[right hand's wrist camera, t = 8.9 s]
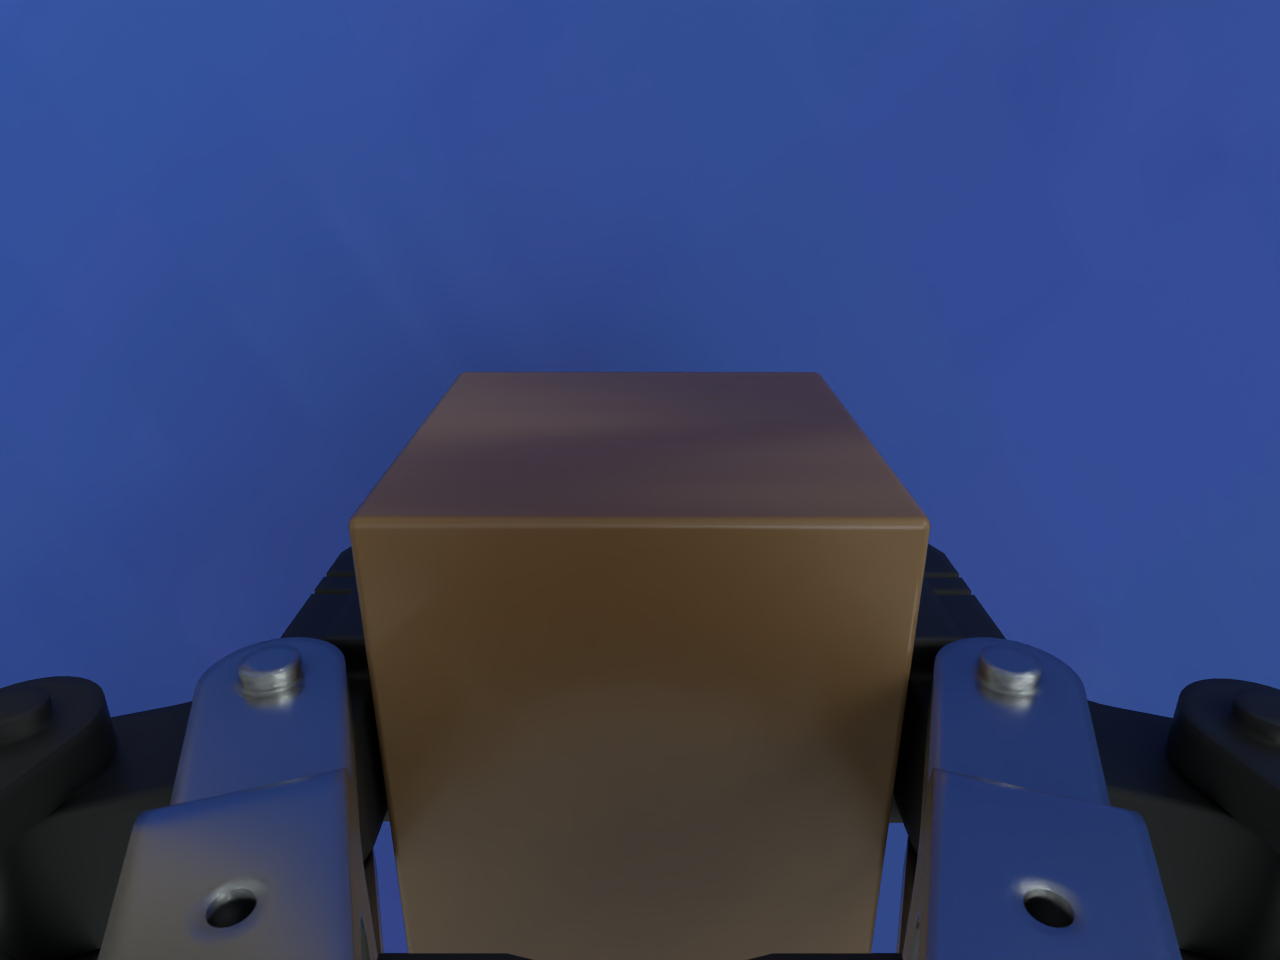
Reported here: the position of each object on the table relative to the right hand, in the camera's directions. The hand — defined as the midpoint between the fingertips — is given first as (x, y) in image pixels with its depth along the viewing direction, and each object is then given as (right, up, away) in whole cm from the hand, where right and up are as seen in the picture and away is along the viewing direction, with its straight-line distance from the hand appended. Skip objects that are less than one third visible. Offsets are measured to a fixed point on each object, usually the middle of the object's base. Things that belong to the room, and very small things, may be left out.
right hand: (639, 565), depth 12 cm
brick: (0, 0, +1) cm, 1 cm away
